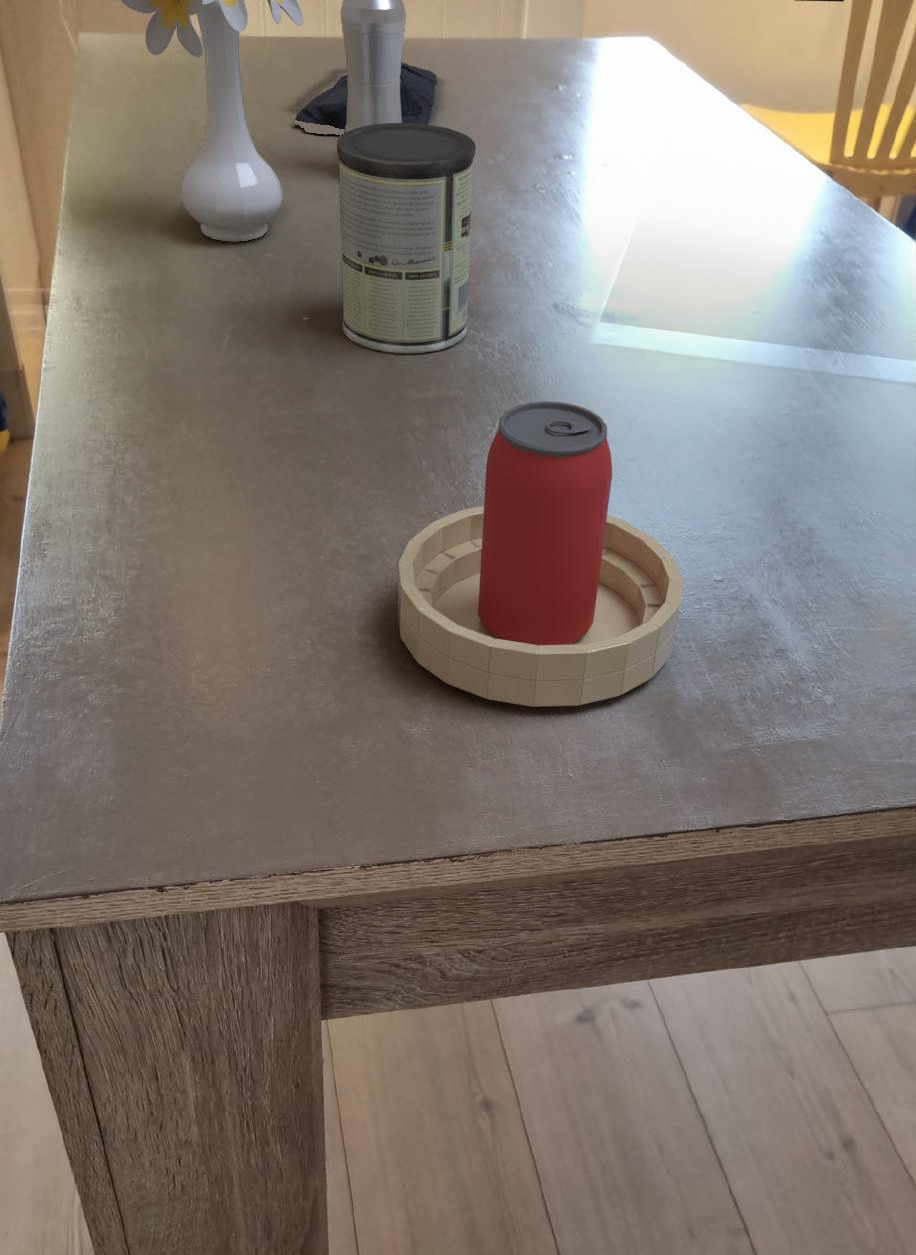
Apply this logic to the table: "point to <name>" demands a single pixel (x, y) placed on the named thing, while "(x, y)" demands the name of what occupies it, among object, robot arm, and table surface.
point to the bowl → (525, 673)
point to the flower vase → (220, 117)
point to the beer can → (544, 523)
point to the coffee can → (405, 235)
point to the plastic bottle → (373, 60)
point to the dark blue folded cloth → (413, 98)
